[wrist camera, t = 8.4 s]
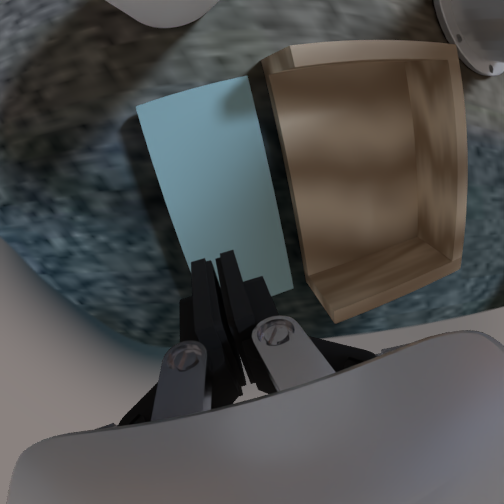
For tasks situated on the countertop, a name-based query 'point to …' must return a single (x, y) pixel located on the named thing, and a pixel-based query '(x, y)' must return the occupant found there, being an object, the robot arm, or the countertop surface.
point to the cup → (164, 11)
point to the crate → (372, 165)
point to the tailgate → (218, 178)
